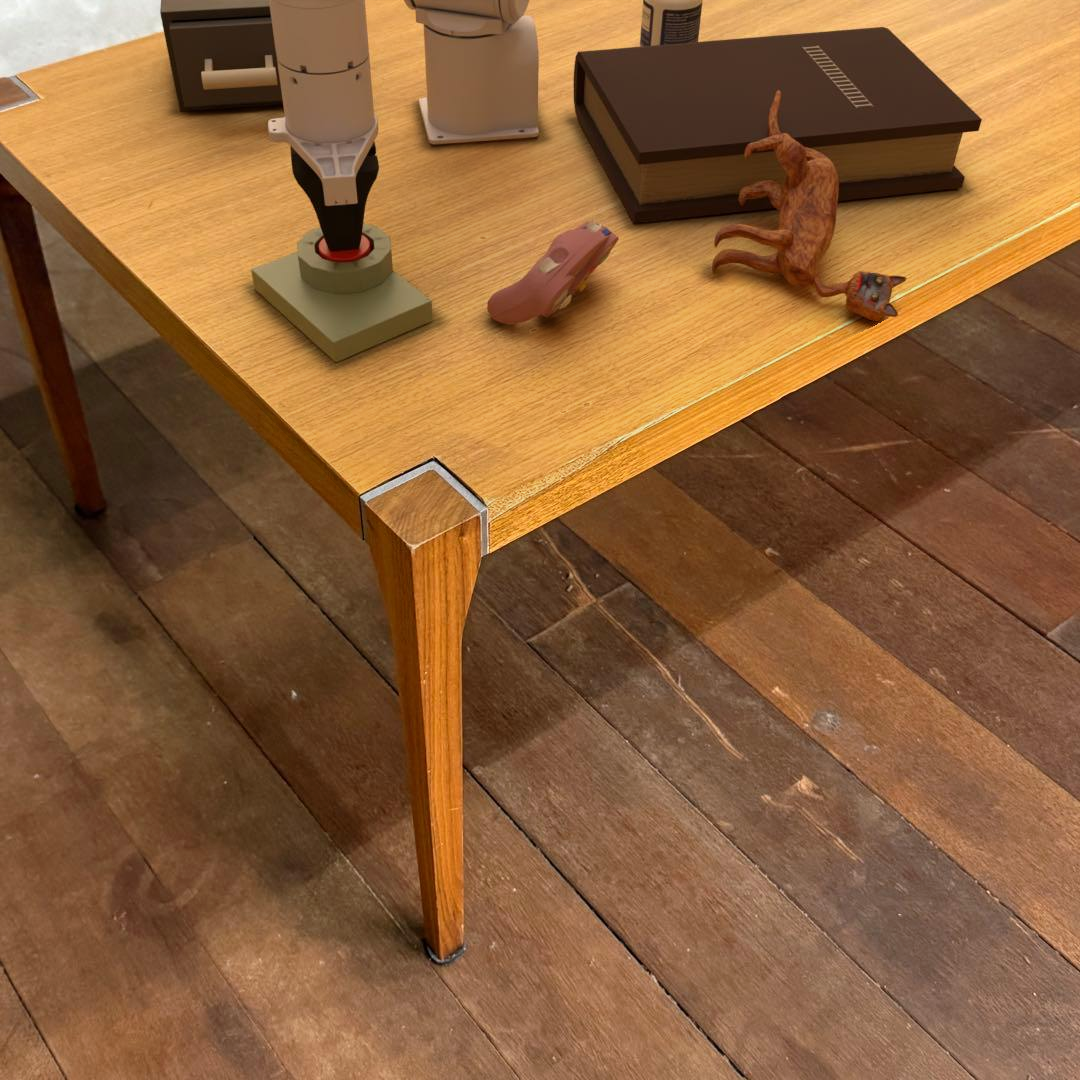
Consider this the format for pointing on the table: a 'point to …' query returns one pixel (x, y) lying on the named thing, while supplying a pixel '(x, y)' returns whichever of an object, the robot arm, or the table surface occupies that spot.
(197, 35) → the drawer
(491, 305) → the pink pronged piece
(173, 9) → the cabinet
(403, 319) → the olive button base
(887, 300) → the cat figurine
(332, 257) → the button
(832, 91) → the book
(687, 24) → the pill bottle
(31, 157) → the table surface
